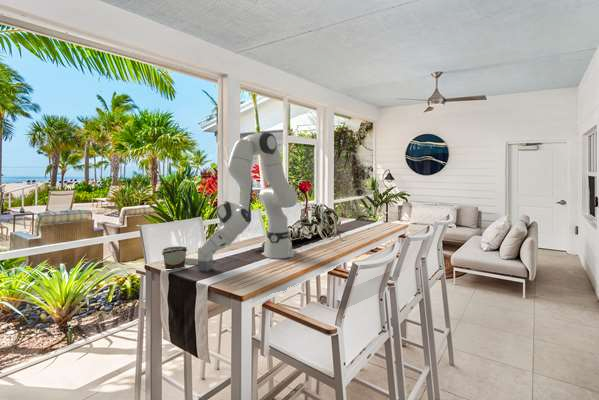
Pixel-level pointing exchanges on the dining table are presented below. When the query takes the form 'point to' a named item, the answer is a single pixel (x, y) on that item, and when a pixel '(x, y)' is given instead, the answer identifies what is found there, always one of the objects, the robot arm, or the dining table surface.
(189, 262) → the stand
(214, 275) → the dining table surface
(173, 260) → the food container
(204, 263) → the block
